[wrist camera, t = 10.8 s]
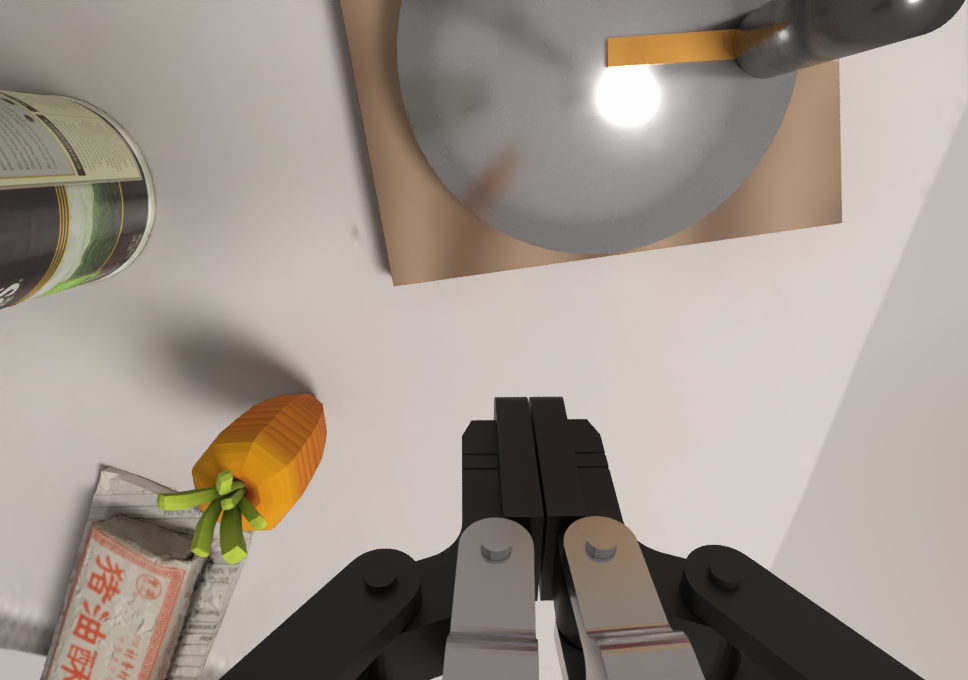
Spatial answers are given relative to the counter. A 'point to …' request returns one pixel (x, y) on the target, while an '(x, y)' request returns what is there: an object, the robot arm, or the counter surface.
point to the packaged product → (140, 590)
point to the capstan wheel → (617, 102)
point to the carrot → (253, 472)
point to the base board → (483, 249)
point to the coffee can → (67, 196)
